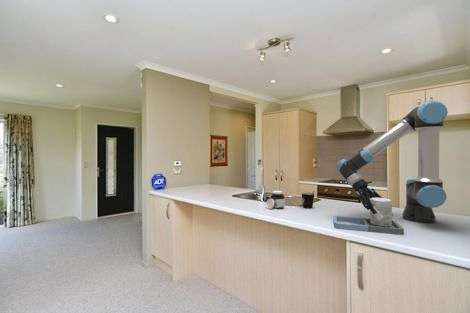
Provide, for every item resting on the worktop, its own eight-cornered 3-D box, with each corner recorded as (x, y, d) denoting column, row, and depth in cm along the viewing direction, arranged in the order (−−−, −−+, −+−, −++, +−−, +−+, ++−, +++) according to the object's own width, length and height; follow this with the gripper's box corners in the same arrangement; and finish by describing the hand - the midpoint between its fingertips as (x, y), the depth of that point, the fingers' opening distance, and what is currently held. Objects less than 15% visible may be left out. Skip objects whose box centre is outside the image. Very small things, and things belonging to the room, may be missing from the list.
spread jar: (286, 207, 169) (286, 191, 169) (280, 211, 159) (280, 193, 159) (270, 205, 175) (270, 189, 175) (264, 208, 166) (264, 192, 165)
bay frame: (395, 225, 127) (395, 220, 127) (404, 234, 112) (404, 229, 112) (333, 219, 138) (333, 215, 138) (334, 228, 123) (334, 223, 123)
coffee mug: (314, 209, 164) (315, 194, 164) (301, 208, 166) (301, 194, 165) (312, 205, 175) (312, 191, 175) (300, 205, 177) (300, 191, 177)
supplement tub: (372, 223, 129) (372, 196, 129) (393, 227, 123) (393, 198, 123) (367, 227, 122) (368, 199, 122) (389, 232, 116) (389, 201, 116)
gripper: (364, 185, 141) (393, 218, 128) (340, 188, 130) (368, 225, 117) (373, 177, 136) (404, 210, 123) (349, 179, 125) (380, 216, 112)
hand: (387, 217), depth 120 cm, fingers closed on supplement tub, 9 cm apart
